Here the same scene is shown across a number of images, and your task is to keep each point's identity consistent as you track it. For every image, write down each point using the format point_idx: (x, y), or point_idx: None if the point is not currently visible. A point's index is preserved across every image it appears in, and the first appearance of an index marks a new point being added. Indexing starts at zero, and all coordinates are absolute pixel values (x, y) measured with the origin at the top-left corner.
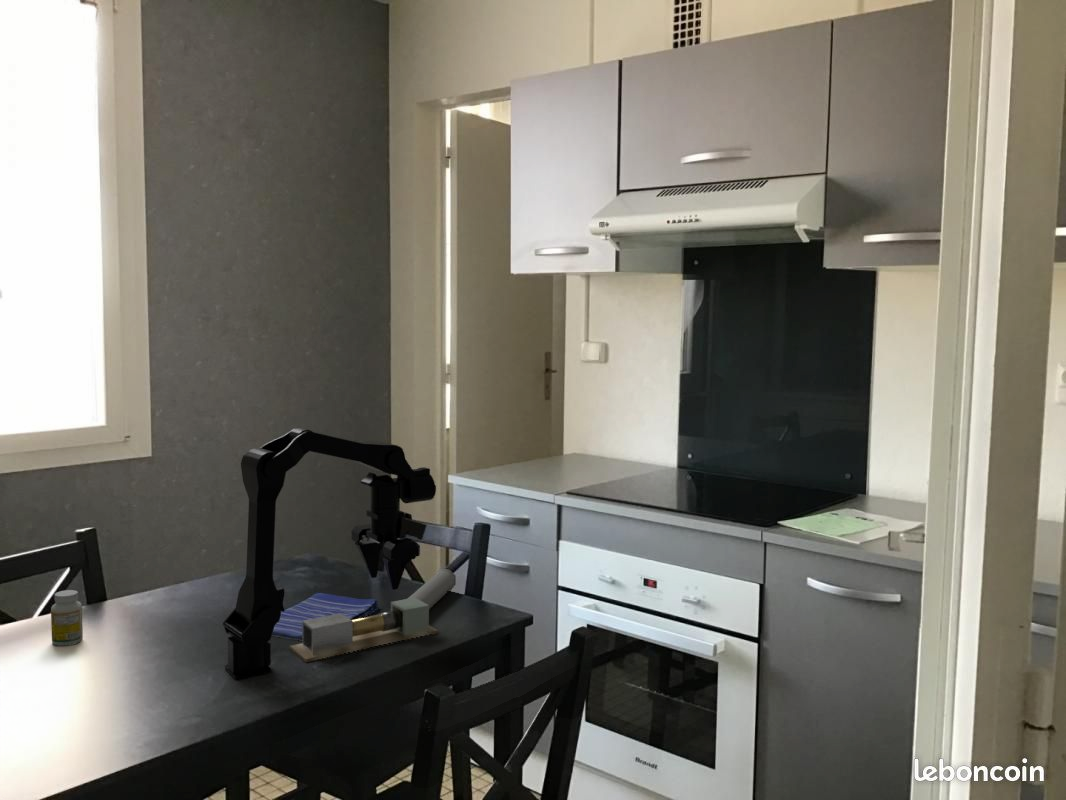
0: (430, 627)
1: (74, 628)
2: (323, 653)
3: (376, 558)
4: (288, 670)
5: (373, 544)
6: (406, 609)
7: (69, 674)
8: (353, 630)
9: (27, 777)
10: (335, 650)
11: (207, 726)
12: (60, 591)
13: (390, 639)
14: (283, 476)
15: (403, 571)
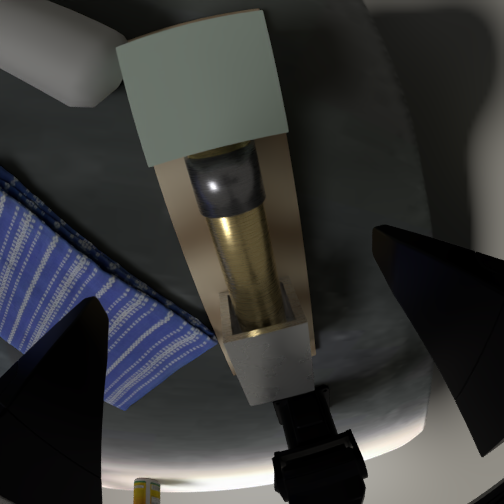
0: None
1: (156, 493)
2: None
3: (49, 391)
4: (331, 367)
5: (27, 501)
6: (283, 122)
7: (233, 478)
8: (281, 294)
9: (395, 446)
10: None
11: (412, 401)
12: None
13: (283, 171)
14: None
15: (491, 258)
